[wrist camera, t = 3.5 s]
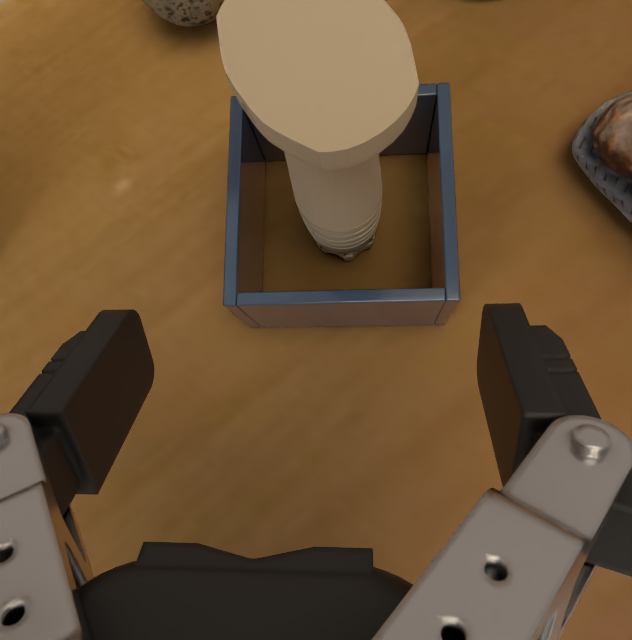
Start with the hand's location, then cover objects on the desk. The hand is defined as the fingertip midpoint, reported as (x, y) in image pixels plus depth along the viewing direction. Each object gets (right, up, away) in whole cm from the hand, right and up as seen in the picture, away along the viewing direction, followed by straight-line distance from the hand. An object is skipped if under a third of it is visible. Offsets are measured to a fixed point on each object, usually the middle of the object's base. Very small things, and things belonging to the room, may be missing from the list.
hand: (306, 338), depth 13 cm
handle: (+2, +5, +17) cm, 18 cm away
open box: (+2, +5, +17) cm, 18 cm away
